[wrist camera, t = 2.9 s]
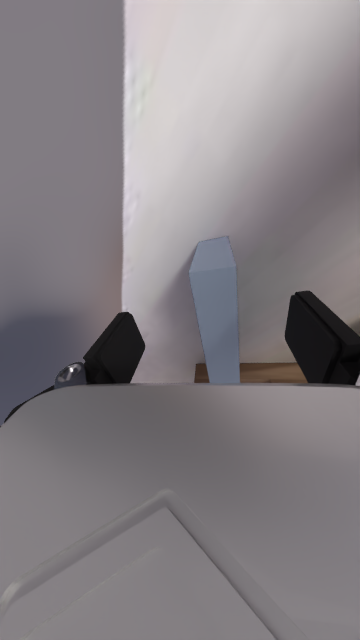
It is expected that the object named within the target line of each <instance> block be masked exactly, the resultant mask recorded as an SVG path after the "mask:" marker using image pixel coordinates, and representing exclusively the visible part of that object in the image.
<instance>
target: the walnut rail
mask: <svg viewBox="0 0 360 640" xmlns="http://www.w3.org/2000/svg"><path fill="white" fill-rule="evenodd" d="M239 369H240V383H308V382H307V380H306V378H305V376H304V374H303V372H302V370H301V369H300V367H299V365H298V363H242V364H239ZM194 383H210V381H209V376H208V371H207V366H206V364H196V371H195V380H194Z"/></svg>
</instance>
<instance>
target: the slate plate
mask: <svg viewBox="0 0 360 640" xmlns="http://www.w3.org/2000/svg"><path fill="white" fill-rule="evenodd" d="M189 278H190V283H191V289H192V294H193V299H194V304H195V309H196V314H197V319H198V325H199V330H200V335H201V340H202V345H203V350H204V355H205V361H206V366H207V371H208V376H209V381H210V383H240V369H239V337H238V305H237V273H236V263H235V260H234V256H233V253H232V249H231V246H230V242H229V239H228V236H226V237H221V238H216V239H211V240H206V241H201V242H199V243H198V246H197V249H196V252H195V255H194V258H193V261H192V264H191V267H190V270H189Z"/></svg>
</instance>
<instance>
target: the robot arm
mask: <svg viewBox="0 0 360 640" xmlns="http://www.w3.org/2000/svg"><path fill="white" fill-rule="evenodd" d="M285 340H286V342H287V344H288V346H289V348H290V350H291V352H292V354H293V355H294V357H295V359H296V361H297V363H298V365H299V367H300V369H301V370H302V372H303V374H304V376H305V378H306V380H307V382H308V383H138V384H130V382H131V380H132V377H133V375H134V373H135V370H136V368H137V366H138V364H139V361H140V359H141V357H142V354H143V352H144V350H145V343H144V341H143V339H142V336H141V334H140V332H139V329H138V327H137V325H136V323H135V320H134V318H133V316H132V314H130V313H129V312H121V313H118V314H117V316H116V317H115V318H114V320H113V321H112V322H111V323H110V324H109V326H108V327H107V328H106V329H105V331H104V332H103V333H102V334H101V336H100V337H99V338H98V339H97V341H96V342H95V343H94V344H93V346H92V347H91V348H90V350H89V351H88V352H87V353H86V354H85V356H84V357H83V359H84V360H85V361H86V362H85V363H84V364H83V363H82V362H75V363H72V364H70V365H68V366H66V367H65V368H64V369H62V370H61V371H60V372H59V373H58V375H57V376H56V378H55V382H54V385H53V386H51V387H50V388H48V389H46V390H44V391H43V392H41V393H39V394H38V395H36V396H34V397H33V398H31V399H29V400H27V401H25V402H24V403H22V404H20V405H18V406H17V407H15V408H14V409H13V410H12V411H11V412H10V414H9V415H8V417H7V418H6V420H5V422H4V424H3V425H2V426H0V640H360V337H359V336H358V335H357V334H356V333H355V332H354V331H353V330H352V329H351V328H350V327H348V326H347V325H346V324H345V323H344V322H343V321H342V320H341V319H340V318H339V317H338V316H337V315H336V314H334V313H333V312H332V311H331V310H330V309H329V308H328V307H327V306H326V305H325V304H324V303H323V302H321V301H320V300H319V299H318V298H317V297H316V296H315V295H314V294H313V293H312V292H311V291H302V292H296V293H295V295H292V296H291V299H290V305H289V311H288V318H287V324H286V330H285Z"/></svg>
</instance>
